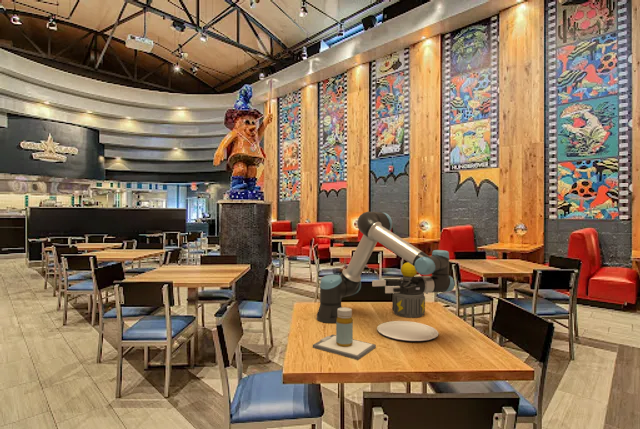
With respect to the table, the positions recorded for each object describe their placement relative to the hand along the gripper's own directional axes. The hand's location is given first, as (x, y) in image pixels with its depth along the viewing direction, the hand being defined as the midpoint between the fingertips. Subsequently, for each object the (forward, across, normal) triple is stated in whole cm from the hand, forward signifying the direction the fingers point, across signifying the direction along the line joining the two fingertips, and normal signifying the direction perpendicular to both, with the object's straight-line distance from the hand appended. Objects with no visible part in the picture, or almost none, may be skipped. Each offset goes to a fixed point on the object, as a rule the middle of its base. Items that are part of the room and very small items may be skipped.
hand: (378, 286), depth 152 cm
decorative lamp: (-38, +40, -26) cm, 61 cm away
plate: (-21, +11, -26) cm, 35 cm away
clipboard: (+16, 0, -26) cm, 30 cm away
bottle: (+16, 0, -24) cm, 29 cm away
